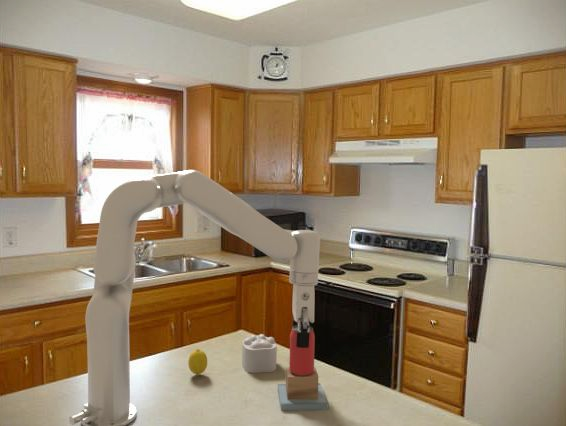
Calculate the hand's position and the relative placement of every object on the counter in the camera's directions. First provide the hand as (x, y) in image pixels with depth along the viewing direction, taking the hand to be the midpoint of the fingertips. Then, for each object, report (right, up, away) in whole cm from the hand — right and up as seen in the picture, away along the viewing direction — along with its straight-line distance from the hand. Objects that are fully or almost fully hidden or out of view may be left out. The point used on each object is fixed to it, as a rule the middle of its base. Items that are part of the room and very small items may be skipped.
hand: (300, 340), depth 128 cm
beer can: (0, -9, +1) cm, 9 cm away
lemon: (-30, -15, +15) cm, 37 cm away
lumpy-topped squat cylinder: (-12, -14, +25) cm, 31 cm away
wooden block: (0, -15, +1) cm, 15 cm away
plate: (0, -16, +1) cm, 16 cm away
